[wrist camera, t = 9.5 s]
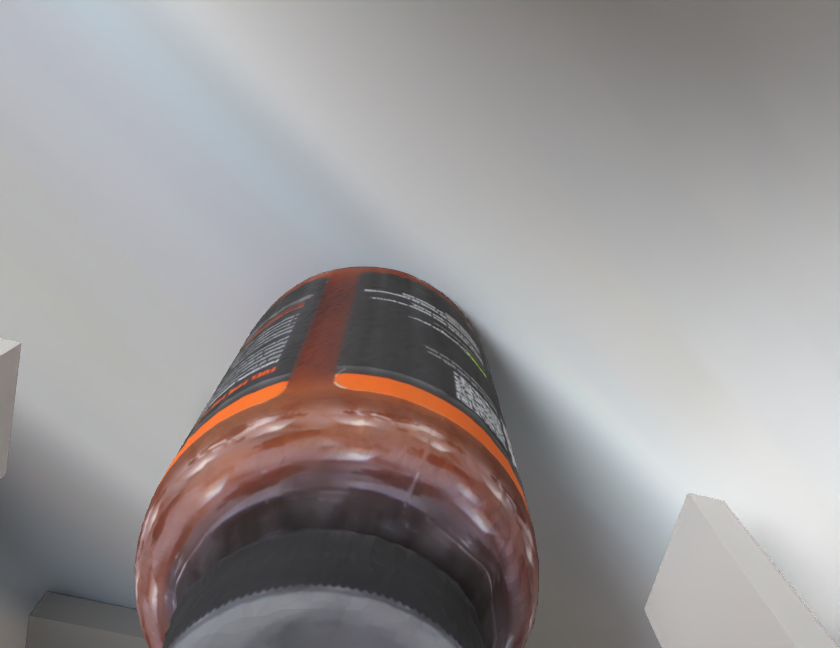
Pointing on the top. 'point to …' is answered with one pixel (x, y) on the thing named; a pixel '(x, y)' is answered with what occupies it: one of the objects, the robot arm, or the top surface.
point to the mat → (82, 624)
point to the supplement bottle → (344, 486)
